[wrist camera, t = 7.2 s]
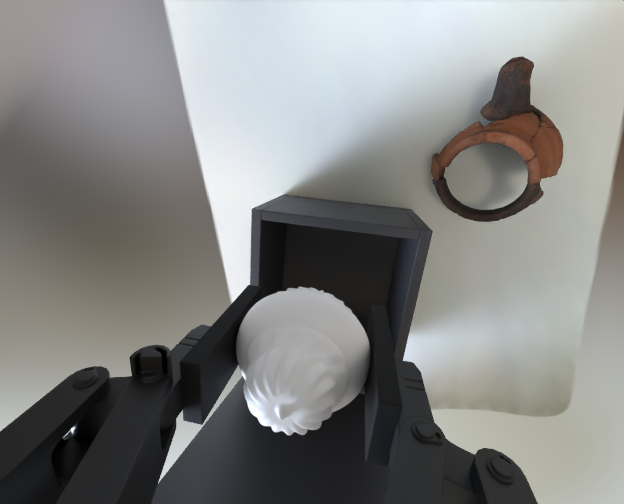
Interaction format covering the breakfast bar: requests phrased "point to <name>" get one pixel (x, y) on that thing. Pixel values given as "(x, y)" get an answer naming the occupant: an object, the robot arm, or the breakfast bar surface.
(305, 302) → the muffin
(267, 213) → the open cubby box
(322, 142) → the breakfast bar surface
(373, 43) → the breakfast bar surface
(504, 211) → the broken terracotta ring
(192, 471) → the lid
